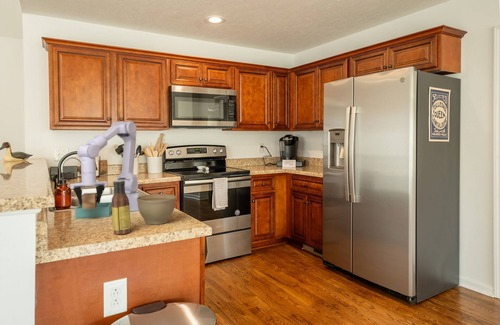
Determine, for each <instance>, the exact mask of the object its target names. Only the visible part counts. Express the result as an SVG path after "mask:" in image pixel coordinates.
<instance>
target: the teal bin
mask: <svg viewBox="0 0 500 325" xmlns="http://www.w3.org/2000/svg"><path fill="white" fill-rule="evenodd" d="M74 211H75V216H74V217H75V219H90V218H91V219H92V218H104V217H105V218H107V217H110V216H111V214H112V201H111V202H100V203H97V207H96V208H95V209H82V205H77V206H76V207H75V208H74Z"/></svg>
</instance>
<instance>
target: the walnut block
mask: <svg viewBox="0 0 500 325" xmlns="http://www.w3.org/2000/svg"><path fill="white" fill-rule="evenodd" d="M96 207H97V192H89V193H88V192H87V193H86V192H85V193H82V209H95V208H96Z"/></svg>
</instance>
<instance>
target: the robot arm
mask: <svg viewBox="0 0 500 325" xmlns="http://www.w3.org/2000/svg"><path fill="white" fill-rule="evenodd" d="M137 130H138V127H137V125H136V124H135V122H134V121H132V120H129V121H127V120H126V121H124V120H123V121H119V120H118V121H114V122H112V123H111V125H110V127H108V129H106V131H104V132H103V133H102V134H96V135H94V136H93V138H92V139H91V140H90V141H89V140H88V141H87V142H86V143H85V144H82V145H80V146H79V147H78V149H77V151H76V154H77V156H78V157H79V161H80V172H81V173H80V175H81V182H76V183H70V184H69V188H70V189H71V190H72V189H73V192H74V194H75V196H76V198H77V200H78V204H79V205H82V195H83V188H84V189H85V188H95V190H96V192H95V193H97V203H101V198H102V196H103V193H104V192H105V191H104V190H105V189H106V187H107V186H108V181H105V180H103V181H97V164H96V162H97V161H96V160H97V159H96V158H97V157H98V156H99V154H100V151H102V150H103V148H105V147H106V146H107V145H108V141H110V140H111V139H112V138H114V137H115V136H116V135H117V136H118V137H119V138H120V139H122V140H123V150H122V151H123V153H122V164H121V173H120V174H118V175H117V178H116V181H118V180H124V181H125V193H126V195H127V197H128V199H129V206H130V212H138V211H139V209H138V203H137V197H139V196H140V192H137V190H138V189H139V182H138V176H137V175H135V174H134V167H135V166H134V165H135V157H136V142H137ZM79 205H78V206H79Z"/></svg>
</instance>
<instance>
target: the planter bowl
mask: <svg viewBox="0 0 500 325" xmlns="http://www.w3.org/2000/svg"><path fill="white" fill-rule="evenodd" d="M176 200H177V196H176V195H174V194H167V193H166V194H164V193H163V194H162V193H155V194H144V195H139V197H137V203H138V209H139V213H140V216H141V217H142V218H143V219H144V223H145V224H147V225H162V224H167V223H168V222H169V220H170V218H171V217H172V215H173V213H174V212H175V211H174V210H175V208H176Z"/></svg>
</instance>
